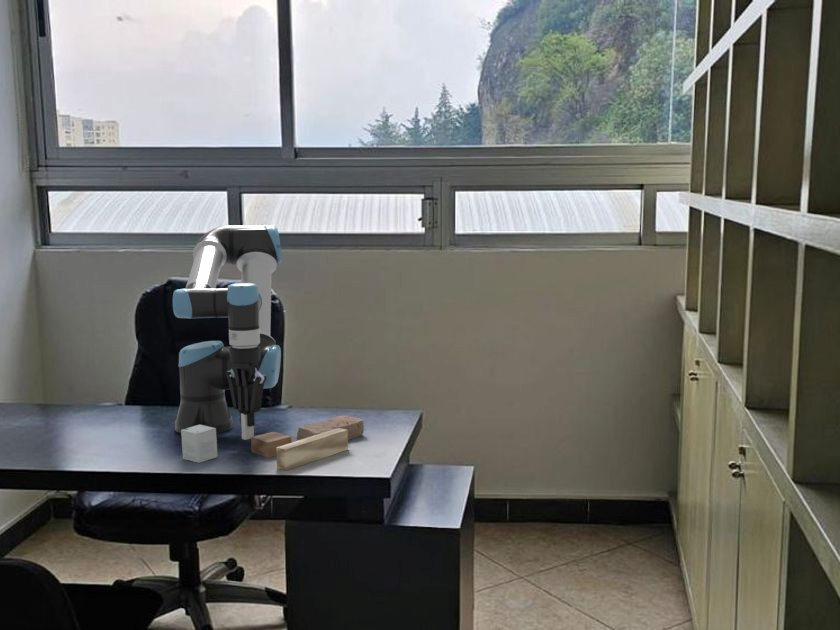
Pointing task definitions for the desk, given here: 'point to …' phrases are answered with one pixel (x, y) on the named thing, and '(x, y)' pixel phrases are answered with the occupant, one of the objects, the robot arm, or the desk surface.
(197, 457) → the skincare box
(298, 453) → the board
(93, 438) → the desk surface
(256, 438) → the block
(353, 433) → the brick
